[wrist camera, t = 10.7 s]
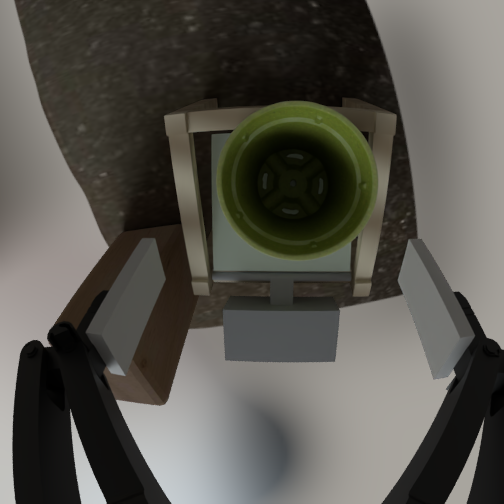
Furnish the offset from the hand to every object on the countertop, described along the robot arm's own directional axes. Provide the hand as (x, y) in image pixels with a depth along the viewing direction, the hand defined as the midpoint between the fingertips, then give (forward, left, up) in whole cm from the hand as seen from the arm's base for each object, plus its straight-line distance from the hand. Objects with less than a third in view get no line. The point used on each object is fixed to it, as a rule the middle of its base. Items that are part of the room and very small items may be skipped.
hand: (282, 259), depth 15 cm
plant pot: (+1, +1, -12) cm, 12 cm away
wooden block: (+13, -16, -20) cm, 29 cm away
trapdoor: (+6, 0, -12) cm, 13 cm away
